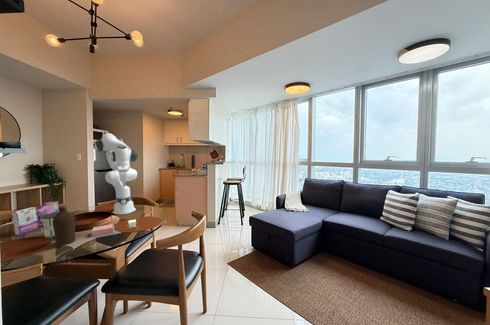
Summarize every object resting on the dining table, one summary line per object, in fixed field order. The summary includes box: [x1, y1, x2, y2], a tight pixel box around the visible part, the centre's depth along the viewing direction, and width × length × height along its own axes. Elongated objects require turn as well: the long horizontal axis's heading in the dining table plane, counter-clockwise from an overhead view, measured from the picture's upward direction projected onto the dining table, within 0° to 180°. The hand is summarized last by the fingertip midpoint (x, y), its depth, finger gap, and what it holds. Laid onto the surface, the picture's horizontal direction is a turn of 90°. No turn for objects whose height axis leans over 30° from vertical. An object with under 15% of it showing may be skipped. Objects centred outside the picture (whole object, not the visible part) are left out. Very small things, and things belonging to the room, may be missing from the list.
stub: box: [127, 219, 137, 228], centre depth 153 cm, size 5×5×5 cm
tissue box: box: [42, 212, 59, 237], centre depth 142 cm, size 10×10×14 cm
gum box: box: [36, 200, 60, 227], centre depth 164 cm, size 24×8×14 cm, turn 27°
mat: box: [89, 230, 122, 240], centre depth 147 cm, size 12×28×1 cm, turn 120°
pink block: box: [91, 223, 115, 237], centre depth 144 cm, size 7×12×4 cm, turn 120°
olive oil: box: [52, 204, 77, 247], centre depth 130 cm, size 11×11×25 cm
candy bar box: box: [11, 206, 40, 236], centre depth 146 cm, size 11×5×16 cm, turn 168°
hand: (124, 185), depth 157 cm, fingers open, 8 cm apart
